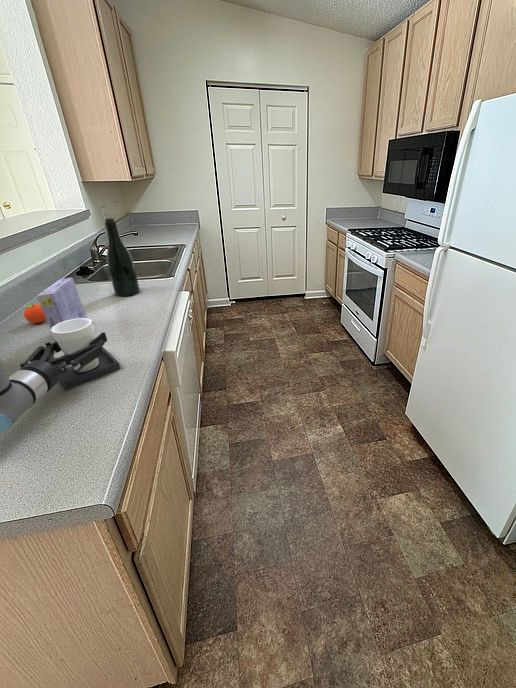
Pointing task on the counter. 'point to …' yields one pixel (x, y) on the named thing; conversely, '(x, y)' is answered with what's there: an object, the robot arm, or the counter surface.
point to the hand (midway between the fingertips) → (87, 336)
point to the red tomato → (34, 313)
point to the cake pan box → (61, 302)
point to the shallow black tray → (90, 371)
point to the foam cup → (75, 337)
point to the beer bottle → (120, 263)
